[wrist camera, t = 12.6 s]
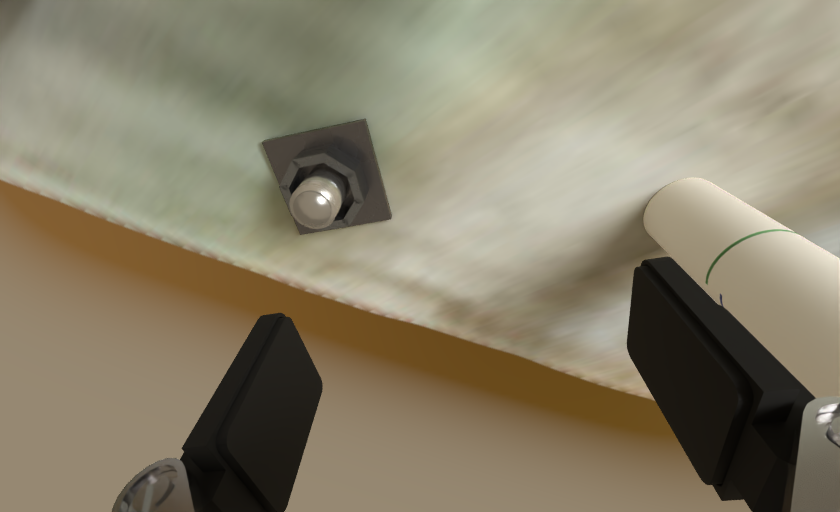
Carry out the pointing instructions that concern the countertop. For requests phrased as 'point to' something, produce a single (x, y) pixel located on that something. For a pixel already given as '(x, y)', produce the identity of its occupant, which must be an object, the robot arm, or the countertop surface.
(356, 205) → the ring
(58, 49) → the countertop surface
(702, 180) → the cylindrical container
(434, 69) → the countertop surface
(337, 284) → the countertop surface
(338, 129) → the grey peg base
